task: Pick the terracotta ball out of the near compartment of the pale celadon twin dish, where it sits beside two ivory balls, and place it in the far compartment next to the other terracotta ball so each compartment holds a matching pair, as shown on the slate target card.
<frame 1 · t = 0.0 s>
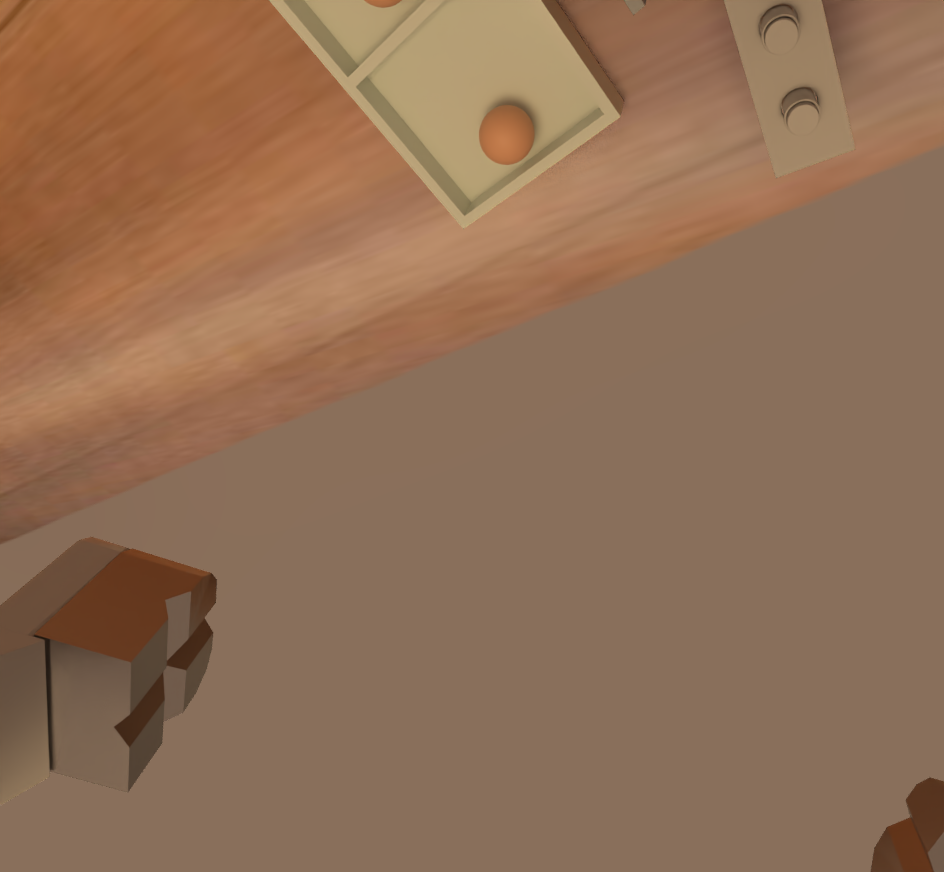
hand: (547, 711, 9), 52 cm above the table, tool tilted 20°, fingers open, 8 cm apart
twin dish: (427, 7, 52), on the table
terracotta ball b: (511, 124, 56), point 1 cm above the table, touching twin dish
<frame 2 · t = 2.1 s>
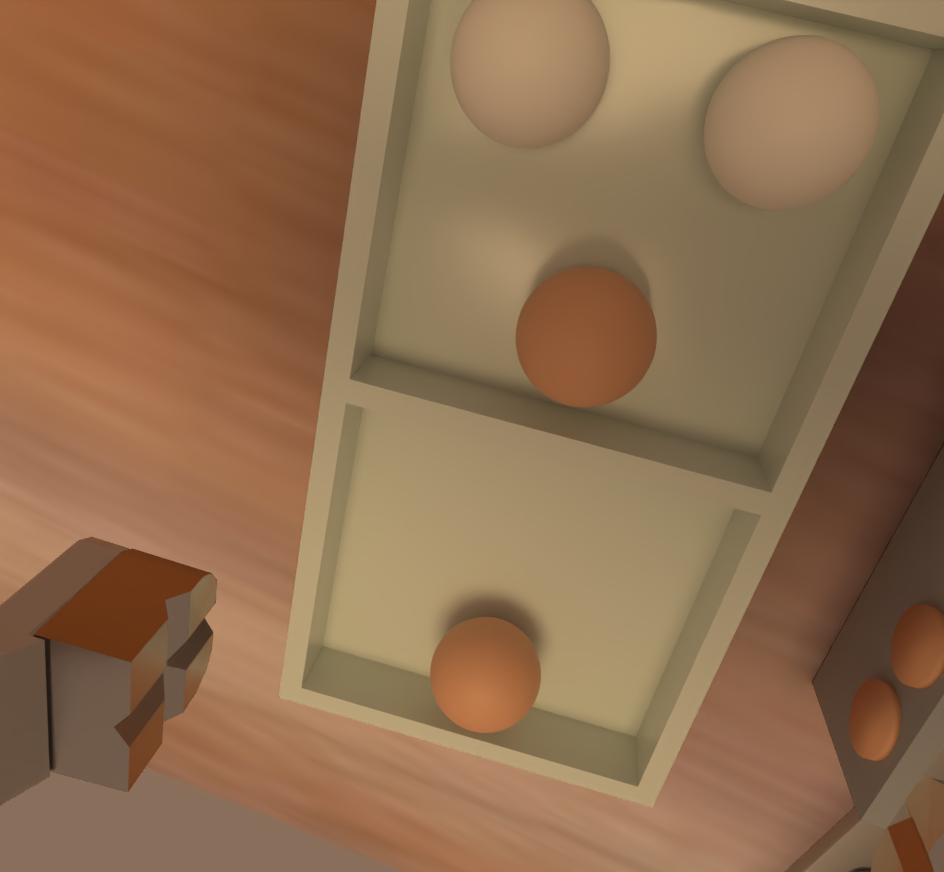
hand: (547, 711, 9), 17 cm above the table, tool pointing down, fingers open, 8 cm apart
target card: (923, 506, 25), on the table
terracotta ball a: (587, 319, 24), point 1 cm above the table, touching twin dish
twin dish: (559, 409, 26), on the table
ivory ball 1: (772, 123, 21), point 1 cm above the table, touching twin dish
terracotta ball b: (493, 637, 29), point 1 cm above the table, touching twin dish
ivory ball 2: (536, 66, 21), point 1 cm above the table, touching twin dish
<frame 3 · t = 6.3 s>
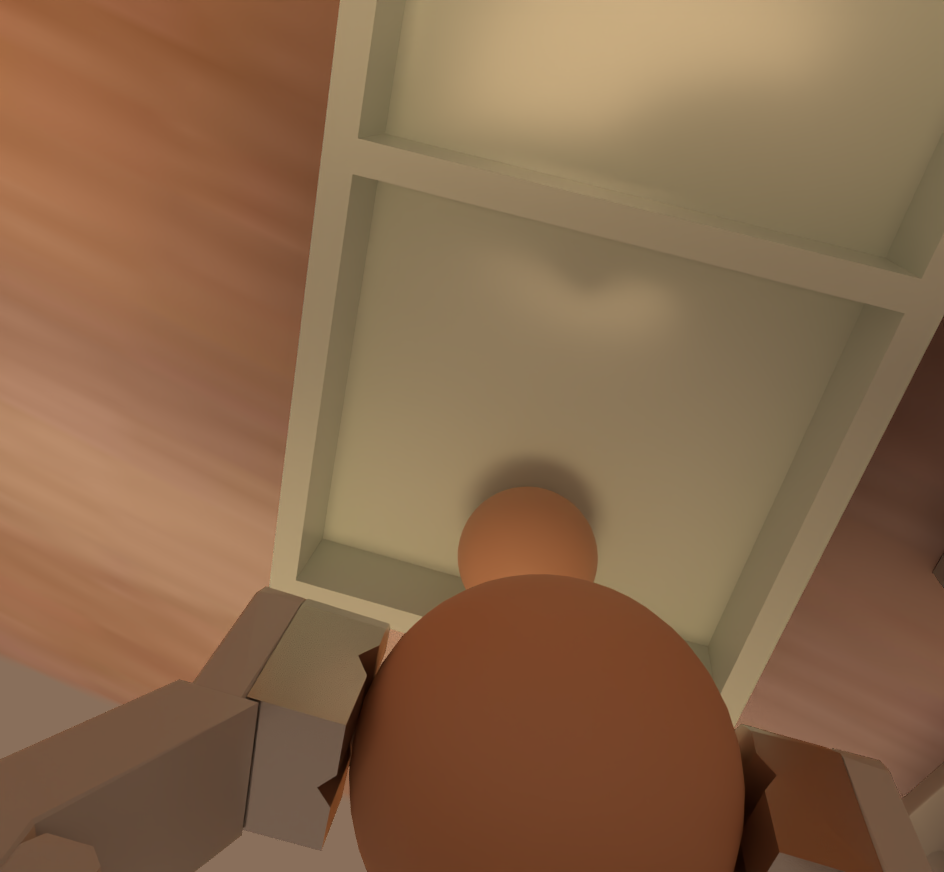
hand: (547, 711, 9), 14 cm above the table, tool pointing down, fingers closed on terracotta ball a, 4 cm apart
terracotta ball a: (553, 643, 10), point 13 cm above the table, touching gripper
twin dish: (625, 207, 20), on the table
terracotta ball b: (533, 521, 24), point 1 cm above the table, touching twin dish
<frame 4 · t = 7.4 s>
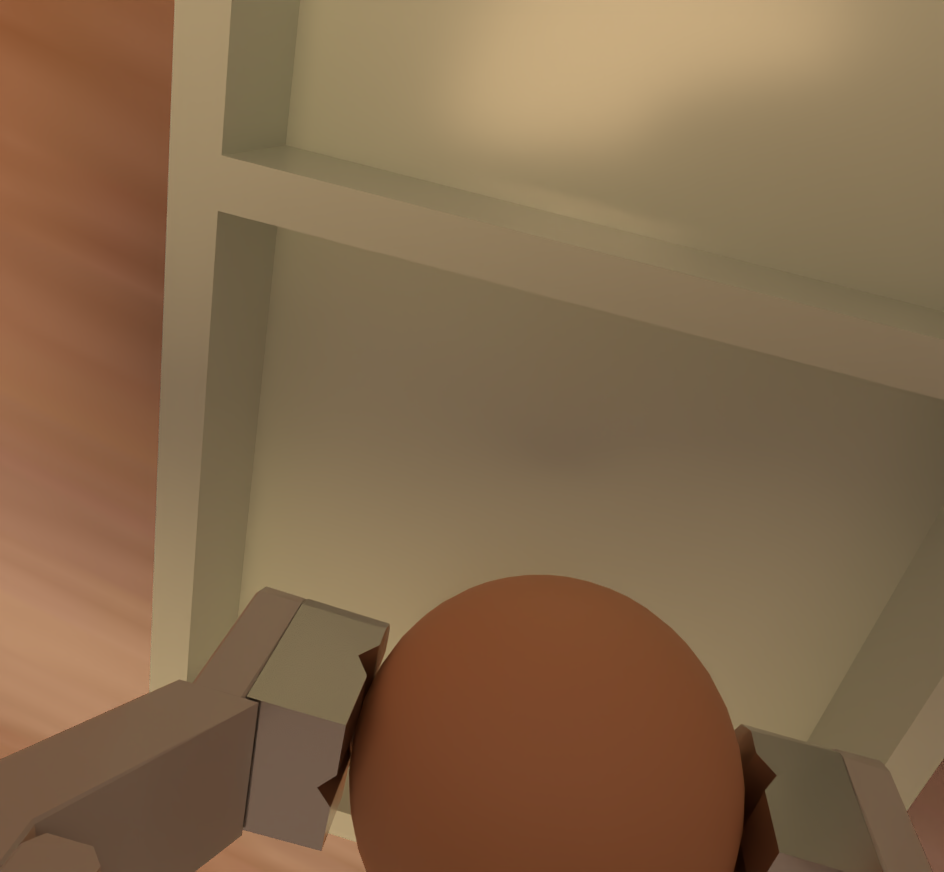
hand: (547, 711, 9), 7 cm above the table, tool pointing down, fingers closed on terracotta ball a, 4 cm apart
terracotta ball a: (553, 643, 10), point 6 cm above the table, touching gripper
twin dish: (643, 254, 13), on the table
when the fingers open (4 cm above the table, at t = 8.4 s): terracotta ball a drops 2 cm, resting on twin dish.
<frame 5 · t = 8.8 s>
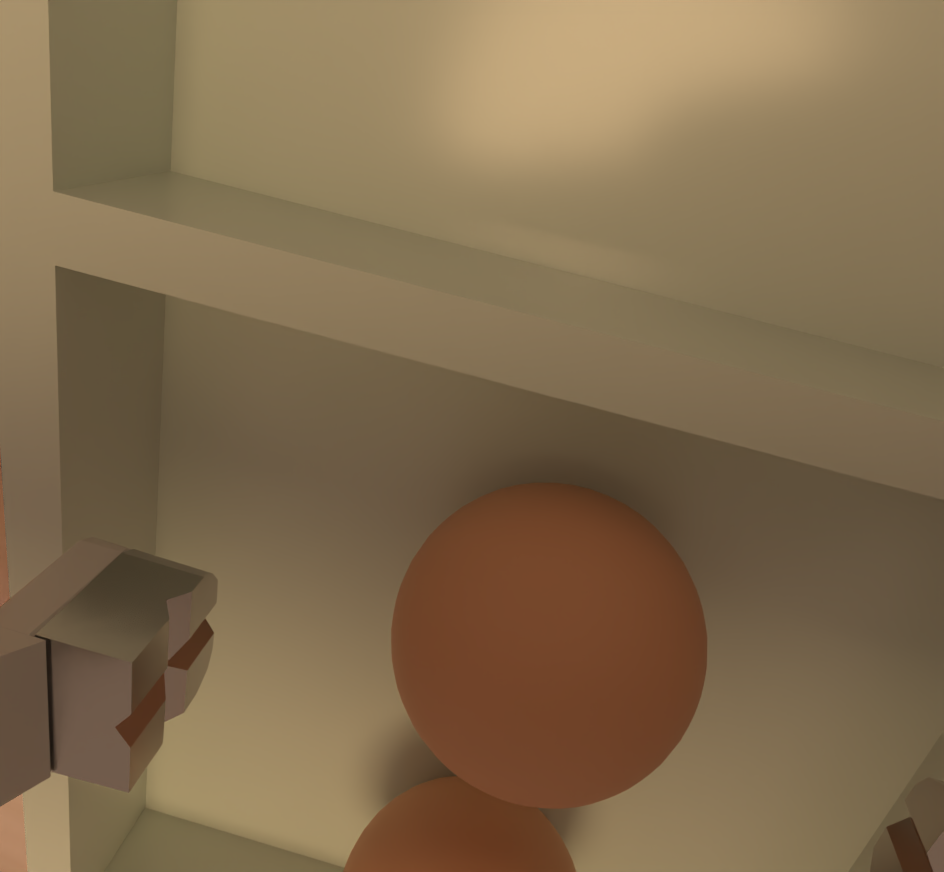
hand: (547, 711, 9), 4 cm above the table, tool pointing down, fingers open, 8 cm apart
terracotta ball a: (563, 555, 12), point 1 cm above the table, touching twin dish
twin dish: (633, 309, 11), on the table
terracotta ball b: (478, 806, 14), point 1 cm above the table, touching twin dish
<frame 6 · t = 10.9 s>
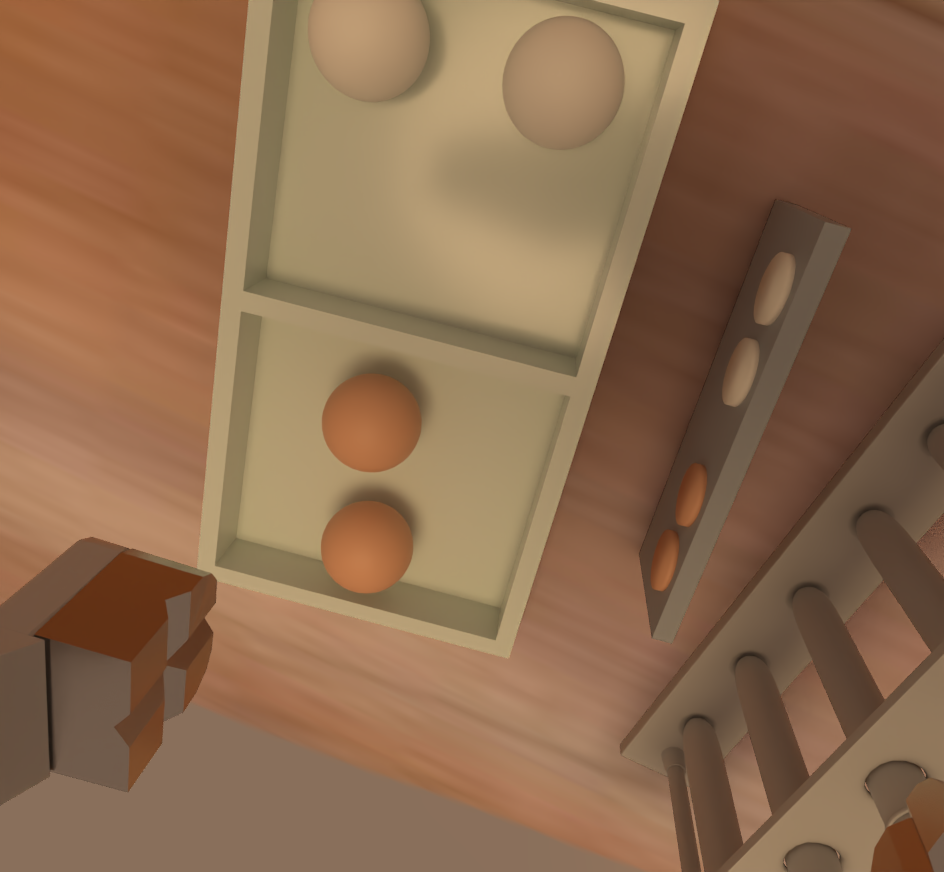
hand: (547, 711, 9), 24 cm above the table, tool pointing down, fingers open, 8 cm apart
target card: (709, 398, 31), on the table
terracotta ball a: (401, 412, 32), point 1 cm above the table, tilted 25°, touching twin dish
twin dish: (421, 323, 31), on the table
ivory ball 1: (563, 86, 27), point 1 cm above the table, touching twin dish
terracotta ball b: (378, 523, 35), point 1 cm above the table, touching twin dish
ivory ball 2: (383, 40, 27), point 1 cm above the table, touching twin dish
test tube rack: (801, 584, 35), on the table
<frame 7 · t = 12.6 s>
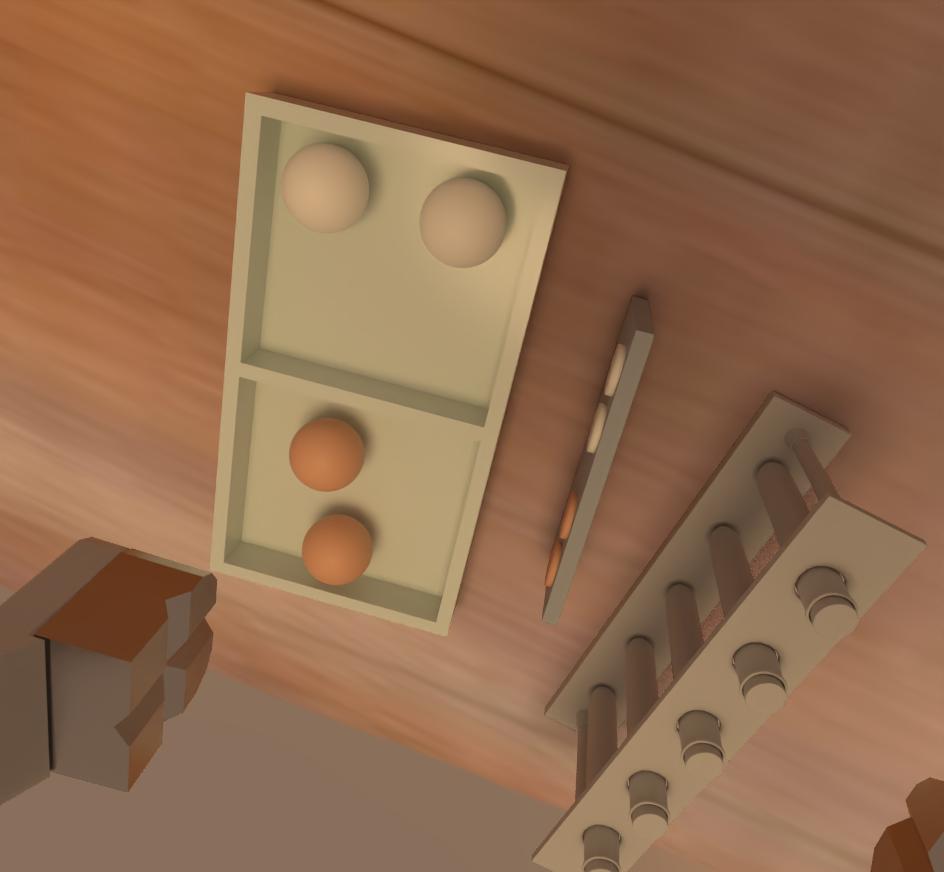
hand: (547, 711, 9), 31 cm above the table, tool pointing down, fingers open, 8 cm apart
target card: (594, 439, 41), on the table
terracotta ball a: (358, 450, 42), point 1 cm above the table, tilted 42°, touching twin dish
twin dish: (376, 381, 42), on the table
ivory ball 1: (470, 217, 37), point 1 cm above the table, touching twin dish
terracotta ball b: (348, 531, 45), point 1 cm above the table, touching twin dish
ivory ball 2: (339, 184, 37), point 1 cm above the table, touching twin dish
test tube rack: (677, 582, 44), on the table
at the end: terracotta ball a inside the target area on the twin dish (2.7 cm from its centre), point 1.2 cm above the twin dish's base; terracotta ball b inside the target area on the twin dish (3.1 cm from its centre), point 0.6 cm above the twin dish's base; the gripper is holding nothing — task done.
